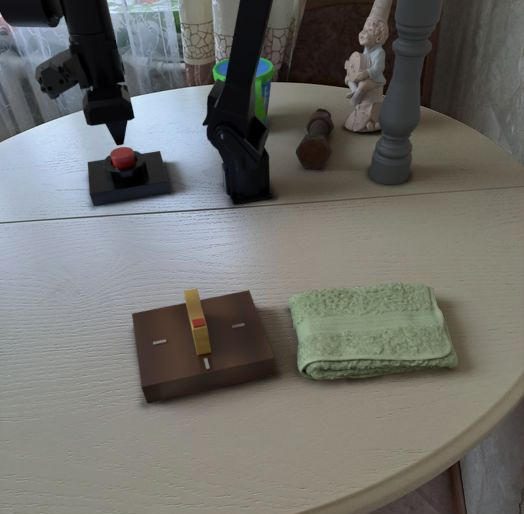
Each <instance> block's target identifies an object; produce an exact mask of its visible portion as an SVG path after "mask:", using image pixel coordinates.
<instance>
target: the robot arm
mask: <svg viewBox="0 0 524 514" xmlns="http://www.w3.org/2000/svg"><path fill="white" fill-rule="evenodd" d="M273 4H274V0H239V2H238V8H237V13H236V14H237V15H236V19H235V24H234V28H233V36H232V40H231V46H230V50H229V51H230V52H229V57H228V59H229V62H228V67H227V73H226V78H225V81H222V80H220V79H218V78H217V80H216V82H215V81H214V83H213V85H212V87H211V88H210V91H209V93H208V95H207V98H206V115H205V118H204V120H203V122H202V123H201V124H202V126H203V127H206V130H205V132H206V139H207V141H209V142H210V144H211V146H212V147H213V148H214V149H216V150H217V152H218V154H219V156H220V158H221V160H222V162H221V175H222V185H223V189H224V191H225V195H226V196H228V197H229V199H230V201H231V204H233V205H239V204H240V205H241V204H245V203H251V202H257V201H258V202H259V201H263V200H269V199H273V198H274V193H273V191H272V189H271V179H270V178H271V177H270V154H269V152H268V151H267V148H266V147H265V146H266V143H267V140H268V137H269V134H270V127H269V126H268V125H267V124H266V125H265V124H264V123H263V122H262V121H261V120H260V119H259V118H258V117H257V116H256V115H255V102H256V90H255V78H256V73H257V69H258V64H259V60H260V58H261V55H262V50H263V47H264V42H265V38H266V32H267V29H268V25H269V21H270V16H271V12H272V7H273ZM0 16H1V18H2V19H3V21H4V22H5V23H6V24H7V25H9V26H11V27H12V28H50V29H51V28H52V29H54V28H57V27H58V26H59V24H60V23H61V22H60V21H61V19H62V18H64V21H65V25H66V29H67V32H68V43H69V45H68V48H66V49H65V50H62V51H60V52H57V54H55V55H52V56H51V57H50V58H48V59H46V60H44V61H42V62H41V63H40V64H38V65H37V66H36V67H35V71H34V79H35V80H36V82H37V83H38V84H39V87H40V88H39V89H40V91H41V92H42V93H43V94H46V96H47V97H48V98H49V99H50V100H51V101H53V100H56V99H58V98H60V95H62V94H64V93H65V92H66V91H69V90H70V89H72V88H74V87H75V86H77V85H78V86H79V89H80V90H85V89H87V90H86V91H85V95H83V97H82V100H81V101H82V112H83V115H84V119H85V122H86V126H90V127H94V126H95V127H96V126H101V125H105V127H106V128H107V130H108V133H109V134H110V136H111V138H112V139H113V141H114V144H115V145H116V146H123V145H124V144H125V138H126V133H127V126H128V122H129V121H132V120H134V119H135V118H136V117H135V112H134V107H133V104H132V103H133V102H132V100H131V99H132V98H131V94H130V92H129V86H128V85H127V84H123V83H126V78H125V76H126V69H125V66H124V61H123V56H122V55H121V53H120V52H119V47H118V43H117V38H116V33H115V29H114V28H115V27H114V24H113V20H112V16H111V10H110V7H109V3H108V0H0ZM120 83H121V84H120Z"/></svg>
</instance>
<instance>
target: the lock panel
mask: <svg viewBox="0 0 524 514" xmlns="http://www.w3.org/2000/svg"><path fill="white" fill-rule="evenodd" d="M250 291H251V290H249V289H248V290H242V291H237V292H232V293H228V294H223V295H222V294H221V295H218V296H212V297H208V298H203V299H200V302H201V305H202V309H203V313H204V317H205V321H206V325H207V329H208V336H209V342H210V348H211V353H206V354H201V355H197V351H196V347H195V343H194V338H193V334H192V330H191V325H190V321H189V316H188V311H187V306H186V302H181V303H177V304H173V305H168V306H162V307H157V308H153V309H148V310H142V311H137V312H133V313H132V312H131V319H132V327H133V333H134V334H133V335H134V342H135V351H136V357H137V366H138V372H139V378H140V379H139V381H140V388H141V391H142V393H143V396H144V398H145V399H144V400H145V402H146V404H152V403H156V402H160V401H165V400H170V399H174V398H178V397H182V396H187V395H193V394H195V393H201V392H204V391H210V390H214V389H218V388H223V387H226V386H231V385H235V384H239V383H245V382H250V381H254V380H258V379H263V378H266V377H271V376H274V375H275V356H274V353H273V351H272V348H271V346H270V342H269V340H268V337H267V334H266V332H265V329H264V327H263V323H262V321H261V318H260V315H259V313H258V310H257V307H256V305H255V302H254V299H253V296H252V293H251V292H250Z"/></svg>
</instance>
